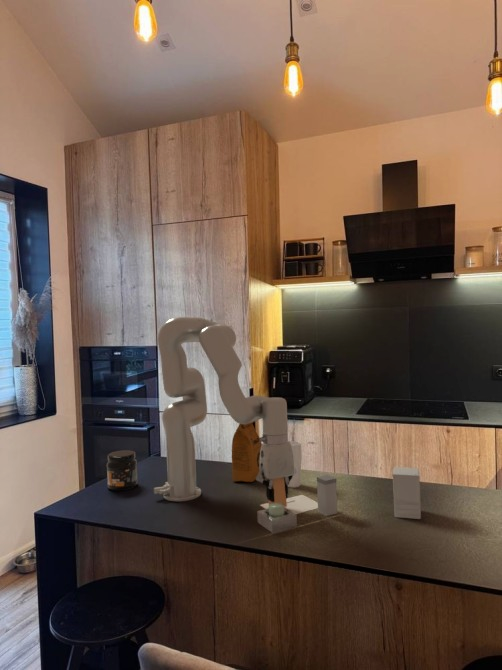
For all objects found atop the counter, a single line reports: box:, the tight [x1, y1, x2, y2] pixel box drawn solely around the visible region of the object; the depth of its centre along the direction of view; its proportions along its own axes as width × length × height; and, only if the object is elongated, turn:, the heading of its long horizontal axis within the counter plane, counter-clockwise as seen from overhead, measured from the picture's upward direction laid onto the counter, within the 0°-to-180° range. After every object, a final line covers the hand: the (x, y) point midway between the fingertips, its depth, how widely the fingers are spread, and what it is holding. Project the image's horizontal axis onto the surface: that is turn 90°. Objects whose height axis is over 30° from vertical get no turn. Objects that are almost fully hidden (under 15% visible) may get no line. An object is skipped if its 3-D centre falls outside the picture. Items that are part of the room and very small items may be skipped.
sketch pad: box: [259, 494, 318, 515], centre depth 147 cm, size 16×12×1 cm
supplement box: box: [392, 466, 422, 520], centre depth 138 cm, size 7×7×13 cm
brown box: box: [267, 477, 287, 507], centre depth 145 cm, size 4×4×11 cm
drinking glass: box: [288, 440, 303, 488], centre depth 166 cm, size 7×7×15 cm
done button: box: [269, 503, 285, 518], centre depth 133 cm, size 4×4×4 cm
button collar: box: [256, 507, 298, 534], centre depth 134 cm, size 8×8×4 cm
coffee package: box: [231, 421, 263, 483], centre depth 176 cm, size 10×12×22 cm
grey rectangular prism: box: [316, 474, 338, 517], centre depth 141 cm, size 4×4×11 cm
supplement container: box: [106, 449, 138, 492], centre depth 171 cm, size 10×10×12 cm
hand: (277, 498), depth 144 cm, fingers closed on brown box, 4 cm apart
